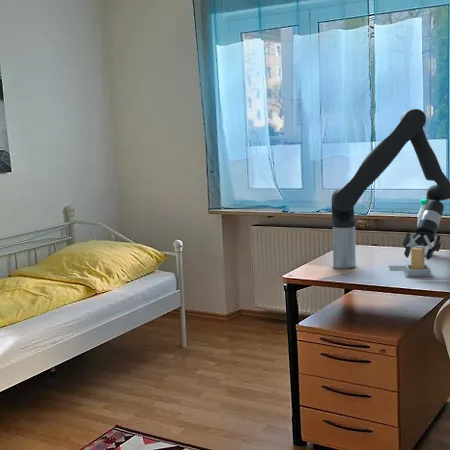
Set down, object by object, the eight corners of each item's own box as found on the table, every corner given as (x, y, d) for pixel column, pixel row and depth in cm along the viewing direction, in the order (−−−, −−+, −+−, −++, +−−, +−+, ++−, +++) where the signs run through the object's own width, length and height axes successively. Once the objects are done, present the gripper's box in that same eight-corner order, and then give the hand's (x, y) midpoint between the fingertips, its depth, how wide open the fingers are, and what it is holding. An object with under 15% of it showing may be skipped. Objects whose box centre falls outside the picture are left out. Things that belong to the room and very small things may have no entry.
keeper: (405, 278, 248) (405, 269, 248) (403, 272, 258) (403, 264, 257) (432, 278, 246) (432, 269, 246) (429, 272, 256) (429, 264, 256)
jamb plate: (390, 271, 260) (390, 270, 260) (388, 266, 269) (388, 265, 269) (420, 271, 258) (420, 270, 258) (418, 266, 267) (418, 265, 267)
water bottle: (434, 256, 285) (434, 200, 282) (417, 256, 287) (418, 200, 283) (432, 253, 292) (433, 198, 289) (416, 253, 294) (416, 198, 290)
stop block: (411, 273, 251) (411, 248, 250) (414, 271, 255) (414, 246, 253) (421, 274, 249) (421, 249, 248) (424, 272, 253) (424, 247, 251)
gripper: (409, 217, 259) (396, 250, 252) (443, 219, 250) (431, 253, 243) (414, 228, 264) (402, 261, 257) (448, 231, 255) (437, 264, 248)
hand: (416, 257), depth 250 cm, fingers open, 8 cm apart
